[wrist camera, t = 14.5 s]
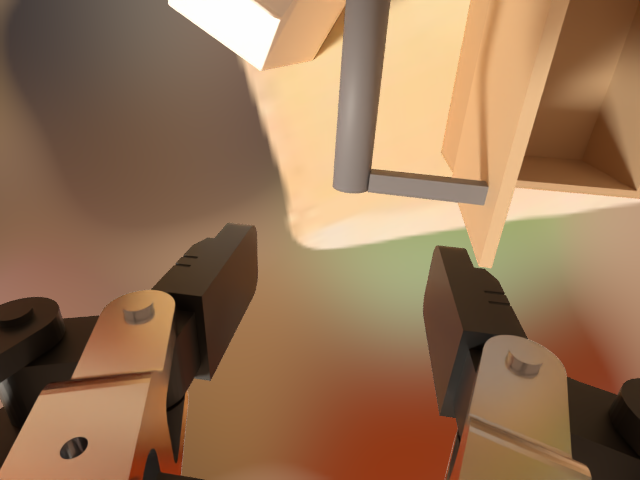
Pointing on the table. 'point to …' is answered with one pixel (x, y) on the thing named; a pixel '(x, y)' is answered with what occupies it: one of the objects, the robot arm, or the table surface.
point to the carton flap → (480, 119)
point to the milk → (265, 27)
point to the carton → (573, 102)
